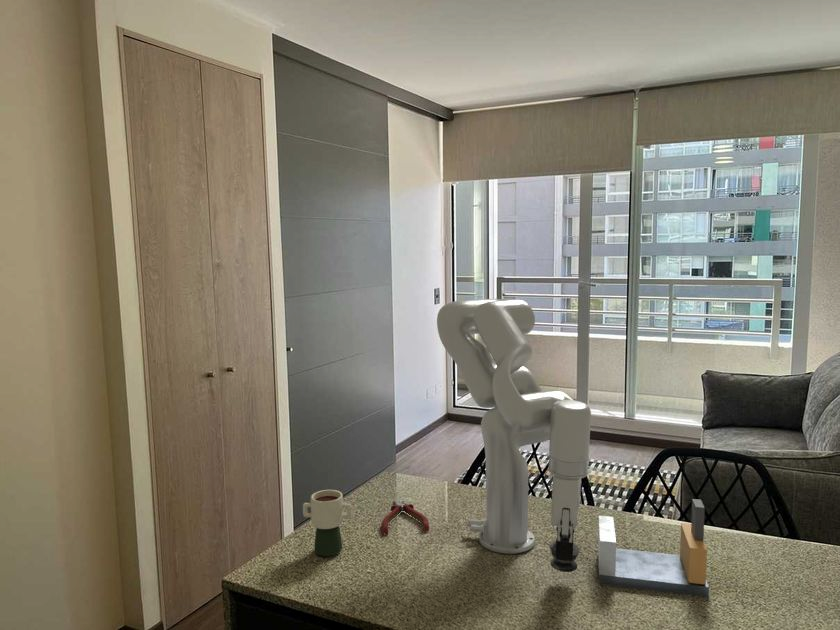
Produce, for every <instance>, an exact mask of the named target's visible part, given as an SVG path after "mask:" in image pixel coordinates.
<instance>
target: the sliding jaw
mask: <svg viewBox="0 0 840 630" xmlns="http://www.w3.org/2000/svg"><path fill="white" fill-rule="evenodd" d="M690 522H691V523H680V544H679V545H680V547H679V555H680V557H681V560H682V563H683V566H684V569H685V572H686V575H687V579H688V582H689V583H696V584H705V585H706V581H707V561H708V560H707V558H708V557H707V555H708V549H707V547H706V544H705V542H704V541H705V540H704V538H705V536H704V535H705V533H704V532H705V506H704V504H703V500H702V499H696V498H691V521H690Z"/></svg>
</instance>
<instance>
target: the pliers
mask: <svg viewBox="0 0 840 630" xmlns="http://www.w3.org/2000/svg"><path fill="white" fill-rule="evenodd" d="M391 511H392V512H391ZM401 511H405V512H406V513H408V514H409V515H411V516H412V517H414V518H415V519H417V520H418V521H420V522H421V523H422V524H423V525H422V524H421V523H420V522H419V523H420V524H421V525H422V527H423V526H424V527H423V530H424V531H425V533H427V532H426V531H428V532H429V530H430V524H429V519H428V518H427V517H426V516H425V515H424V514H423V513H421V512H419V511H418V510H415V507H414V505H413V504H412V503H409V504H408V500H407V497H405V496H404V499H403V501H402V503H401V502H400V501H399V499H398V498H397V497H396V496H394V504H393V505H391V507H390V513H388V514H387V515H386V516H385V517H384V518H383V520H382V521H381V525H380V526H381V531H382V534H383V533H385V534H388V535H389V525H388V523H389V522H390V521H391V520H392V519H393V518H395V517H396V516H397V515H398V514H399V513H400V512H401ZM415 519H414V520H415ZM418 521H417V522H418ZM424 531H423V532H424Z"/></svg>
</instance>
